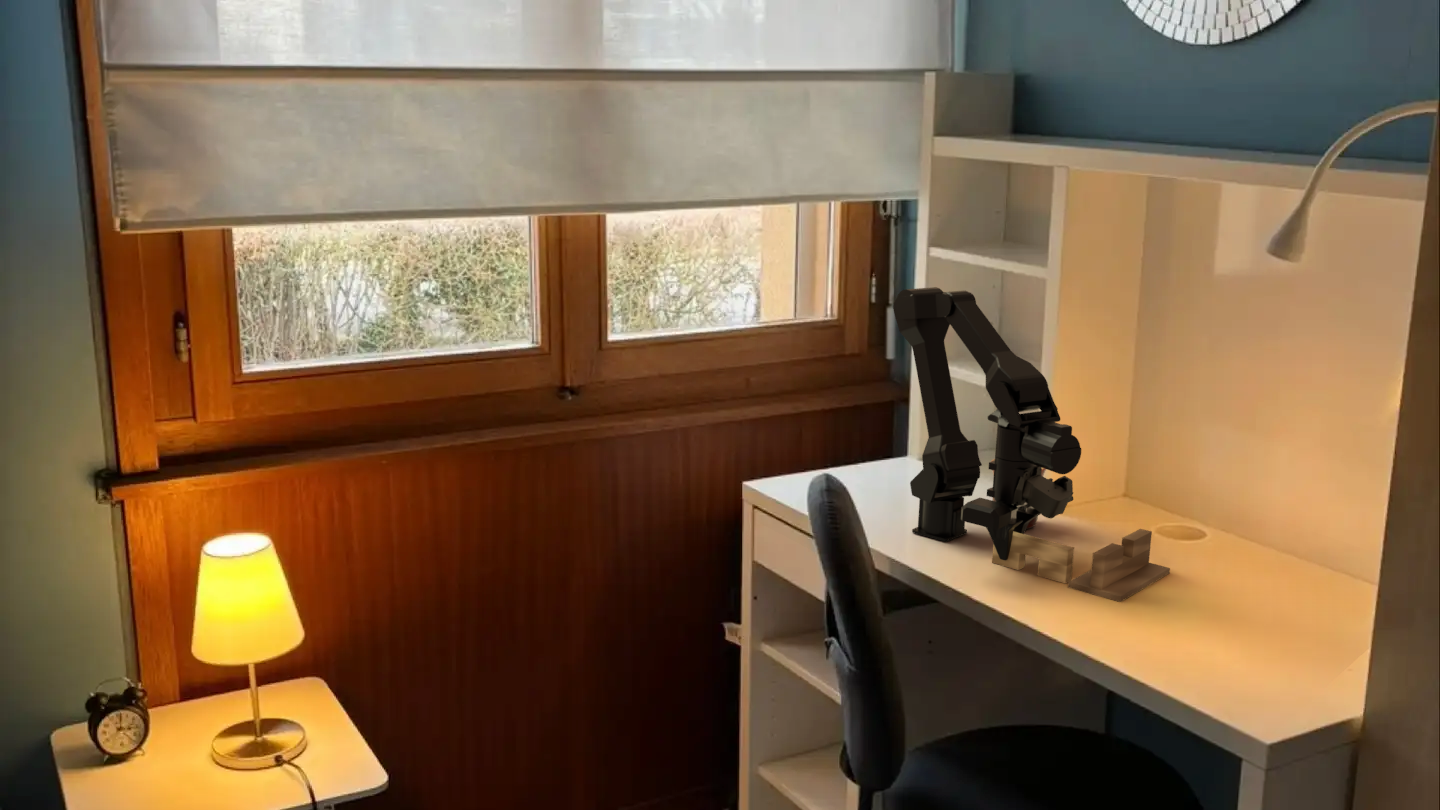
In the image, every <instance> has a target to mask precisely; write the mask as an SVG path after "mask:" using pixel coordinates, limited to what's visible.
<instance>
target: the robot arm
mask: <svg viewBox="0 0 1440 810" xmlns="http://www.w3.org/2000/svg"><path fill="white" fill-rule="evenodd" d="M892 307H893V314H894V318H895V321H896V324H897V327H898V330H899V333H900V334H901V335H902V337H904V339H905V340H906V342H908V344H909V345H910V346H911V348H912V353H913V357H914V363H915V368H916V375H917V380H918V384H919V390H920V395H921V401H922V407H923V413H924V419H925V424H926V429H927V435H928V436H927V437H928V438H927V441H926V445H925V447H924V449H923V452H922V456H921V457H922V458H921V459H922V469H921V470H920V472H919V473H917V475H916V476H914V478H913V479H912V480H911V481H910V483H909V485H910V492H911V495H912V496H913V497H915V498H917V499H919V503H918V504H919V505H918V520H917V526H916V527H914V528H912V529H911V532H912V533H913V534H917V535H919V536H923V537H928V538H931V539H933V540H934V539H935V540H938V541H942V542H949V541H951V540H953V539H956V538H959V537H960V536H962V535H965V534H967V533H968V529H967V528H965V526H966V523H969V524H973V525H976V526H980V527H985V528H986V530H987V532H988V535H989V536H990V538H991V541H992V543H994V546H995V548H996V551H997V553H998V555H999V558H1000V559H1001V560H1007V559H1008V556H1009V552H1010V547H1011V542H1012V536H1013V531H1014V532H1018V533H1021V534H1025V532H1026V531H1027V530H1026V528H1027V526H1028V523H1029V522H1030V521H1031V520H1032V519H1034V518H1035V517H1037V516H1038V517H1039V516H1040V515H1041V516H1043V517H1045V518H1047V519H1054V518H1055V517H1056V516H1059V515H1063V514H1064V512H1065V510H1066V508H1067V506H1068V503H1071V502H1072V501H1073V500H1074V496H1073V494H1074V487H1073V479H1071V478H1069V477H1068V476H1066V474H1069V473H1071V472H1072V471H1073V470H1074V469H1075V468H1076V467H1077V465H1078V464H1079V462H1080V460H1081V456H1082V447H1081V443H1080V441H1079V439H1078V438H1077V437H1076V436H1075V435H1073V425H1070V424H1069V425H1068V424H1061V423H1059V422H1061V416H1060V414H1059V413H1060V412H1059V410H1058V407H1057V405H1056V403H1055V400H1054V399H1053V397H1052V393H1051V391H1050V389H1049V383H1048V381H1047V379H1046V377H1045V376H1044V375H1043V373H1042V372H1041V371H1040V370H1039V369H1037V368H1036V367H1035V366H1034V365H1033V364H1032V363H1031V362H1029V361H1027V360H1025V359H1023V358H1021V357H1020V356H1017V355H1016V354H1015V353H1014V352H1013V351H1012V350H1011V349H1010V347H1009V345H1007V344H1006V342H1005V341H1004V339H1003V337H1001V335H1000V334H999V332H998V331H997V330H996V329H995V327H994V326H993V325H992V323H991V322H990V321H989V319H988V318H987V316H986V315H985V314H984V313H983V311H982V310H981V308H980V307H979V306H978V304H977V300H976V298H975V296H974V294H973V293H972V292H969V291H967V290H955V291H954V290H953V291H952V290H951V291H943V290H942V289H941V288H940V287H936V286H935V287H920V288H909V289H908V288H907V289H902V290H901V291H899V292H898V294H897V296H896V298H895V300H894V301H893V306H892ZM950 327H951V328H952V329H953V330H954V332H955V333H956V335H957V336H958V337H959V339H960V340H961V342H962V343H963V344H964V346H965V347H966V348H967V350H968V351H969V353H970V354H971V355H972V357H973V359H975V362H976V363H977V364H978V366H979V367H980V369H981V370H982V371H983V373H984V376H985V389H986V391H987V394H988V395H989V397H990V399H991V401H992V403H993V405H994V406H995V408H996V409H995V411H994V412H991V413H990V414H989V415H987V420H988V421H990V422H993V423H996V424H997V426H996V441H995V451H994V452H995V455H994V459H995V460H994V461H992V460H991V461H992V462H991V461H989V462H988V470H991V471H993V470H994V475H993V478H992V479H993V480H992V486H991V487H990V488H988V489H986V497H989V498H992V500H993V498H994V500H995V501H992V500H991V499H986V498H984V497H983V498H982V497H977V498H974V499H973V500H970V501H968V502H966V503H965V502H964V501H965V497H973V494H974V492H975V491H974V490H975V489H976V486H977V483H978V479H980V478H981V466H983V465H982V462H981V460H980V455H979V449H978V444H977V442H976V440H975V439H972V440H969V439H968V438H967V437H966V436H965V435H964V434H963V432H962V430H961V426H960V421H959V416H958V409H957V404H956V399H955V394H954V387H953V383H952V378H951V377H952V376H951V373H950V372H951V371H950V366H949V362H948V361H949V360H948V355H947V351H946V345H945V339H946V338H947V337H946V336H947V335H948V331H949V328H950ZM1036 410H1038V411H1036ZM1022 412H1023V413H1022ZM1041 467H1042V468H1045V469H1046V471H1047V470H1048V471H1050V472H1053V473H1055V474H1059V475H1063V476H1060V477H1059V478H1057V479H1055V480H1054V479H1053V478H1046V476H1045V477H1044V475H1043V476H1042V475H1041V471H1042V468H1041Z"/></svg>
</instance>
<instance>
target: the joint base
mask: <svg viewBox="0 0 1440 810" xmlns="http://www.w3.org/2000/svg"><path fill="white" fill-rule="evenodd" d="M1152 533H1153V531H1152V530H1147V529H1143V528H1138V529H1137V530H1135V531H1132V533H1130V534H1128V535H1125V536H1123V537H1121V538H1122V539H1121V544H1117V543H1114V542H1112V543H1109V544H1108V545H1106V546H1103V547H1102V548H1100V549H1098V550H1096V551H1094V552H1092V561H1091V569H1090V570H1088V571H1086V572H1084V573H1083V574H1080V575H1078V576H1076V577H1074V578H1073V579H1071V581H1069V582H1067V583H1068V584H1067V588H1069V589H1073V590H1077V591H1080V592H1084V593H1088V594H1090V595H1091V594H1092V595H1095V596H1098V597H1101V598H1105V599H1108V600H1109V599H1110V600H1113V601H1116V602H1119V603H1122V602H1123V601H1125V600H1126V599H1128V598H1130V597H1131V596H1133V595H1134V594H1136V593H1138V592H1140V591H1141V590H1143V589H1145V588H1147V587H1148V586H1151V585H1152V584H1154V583H1155V582H1157V581H1158V580H1160V579H1162V578H1164V577H1166V576H1167V575H1169V574H1170V573H1171V572H1170V571H1171V567H1168V566H1165V565H1160V564H1156V563H1152V562H1150V554H1151V552H1150V551H1151V543H1152Z"/></svg>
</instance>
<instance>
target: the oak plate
mask: <svg viewBox="0 0 1440 810" xmlns="http://www.w3.org/2000/svg"><path fill="white" fill-rule="evenodd" d="M992 543H993V542H992ZM1074 553H1075V547H1074V546H1071V545H1067V544H1063V543H1059V542H1055V541H1052V540H1048V539H1043V538H1040V537H1038V536H1037V537H1036V536H1033V535H1029V534H1025V533H1024V534H1021V533H1018V532H1014V531H1013V536H1012V542H1011V547H1010V552H1009V556H1008V559H1007V560H1001V559H1000V558H999V555H998V553H997V551H996V548H995V546H994V543H993V545H992V558H991V559H992V560H991V563H993V564H996V565H998V566H1002V567H1006V568H1010V569H1013V570H1017V571H1019V570H1021V569H1023V568H1025V564H1026V563H1025V562H1026V556H1028V557H1032V558H1035V559H1038V568H1037V576H1038V577H1041V578H1046V579H1049V580H1052V581H1056V582H1059V583H1061V584H1062V583H1063V584H1066V583H1068V582H1069V581H1071V580H1072V577H1073V576H1072V574H1073V563H1074Z"/></svg>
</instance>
